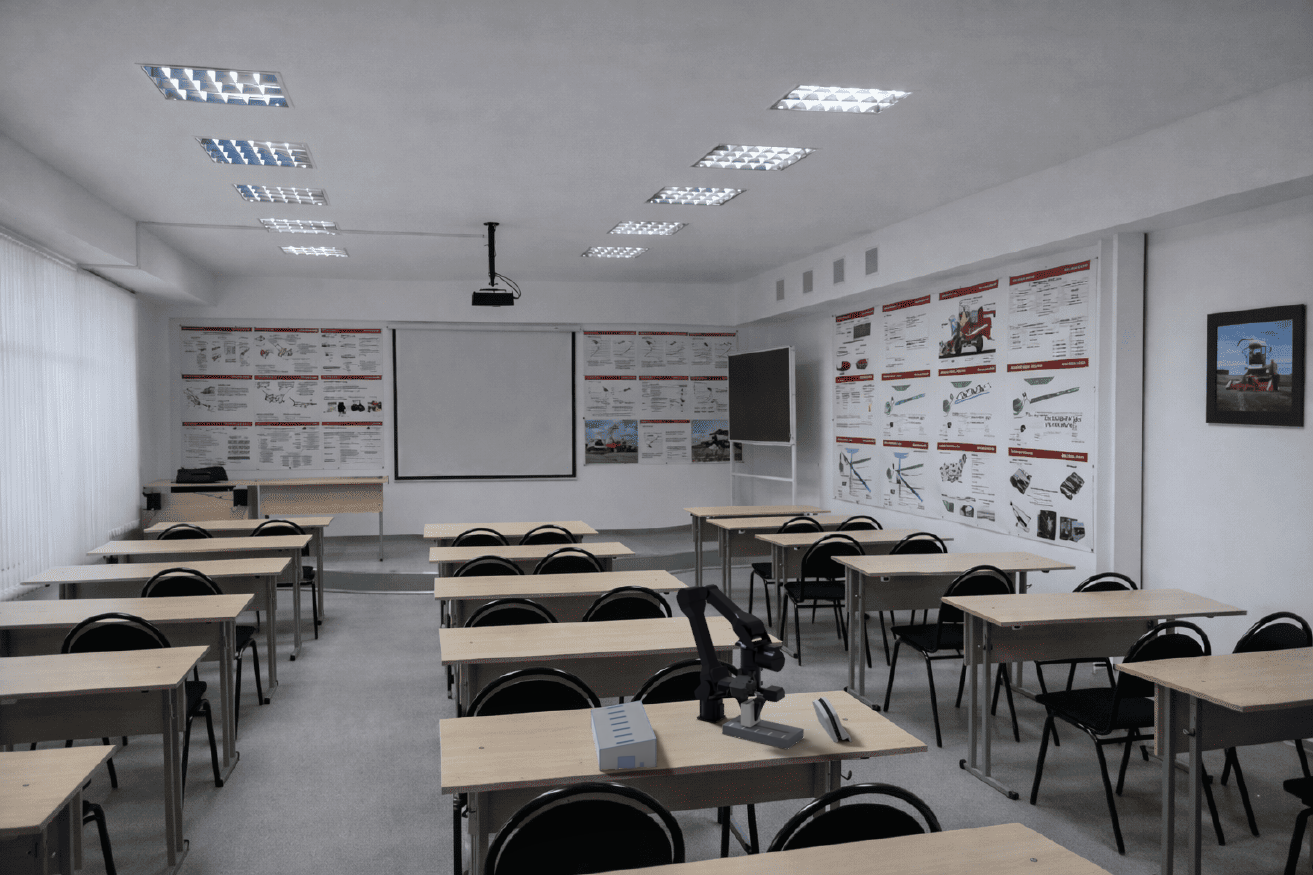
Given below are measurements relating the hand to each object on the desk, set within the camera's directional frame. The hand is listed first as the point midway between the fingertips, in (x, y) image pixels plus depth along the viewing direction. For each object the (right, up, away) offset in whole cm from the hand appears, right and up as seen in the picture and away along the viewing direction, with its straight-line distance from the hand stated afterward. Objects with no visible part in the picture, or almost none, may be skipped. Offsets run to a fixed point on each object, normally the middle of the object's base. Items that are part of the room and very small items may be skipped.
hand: (750, 719), depth 233 cm
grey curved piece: (+22, -4, +1) cm, 23 cm away
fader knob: (0, -1, 0) cm, 1 cm away
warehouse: (-36, -5, -10) cm, 37 cm away
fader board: (+3, -4, -2) cm, 5 cm away
